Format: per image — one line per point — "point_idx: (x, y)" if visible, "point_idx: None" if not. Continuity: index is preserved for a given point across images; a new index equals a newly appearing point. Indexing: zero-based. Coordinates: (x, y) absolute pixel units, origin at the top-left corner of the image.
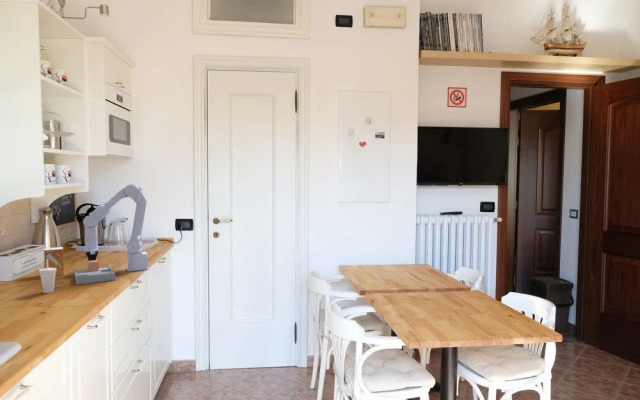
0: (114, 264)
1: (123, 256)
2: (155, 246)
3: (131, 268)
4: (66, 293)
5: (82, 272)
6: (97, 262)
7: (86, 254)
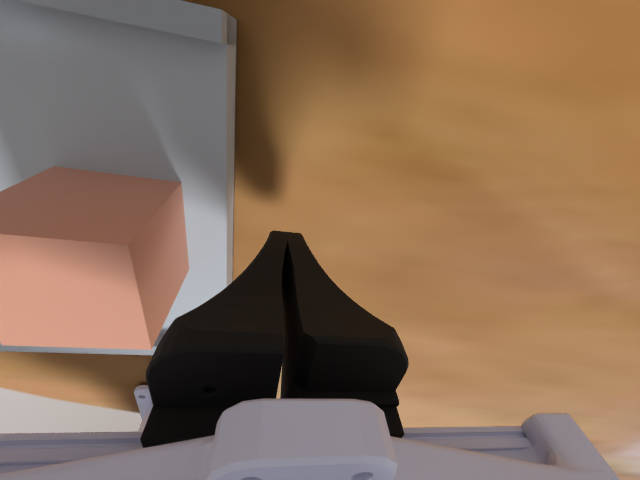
0: (427, 358)
1: (582, 403)
2: (618, 475)
3: (150, 411)
4: None
5: (24, 90)
6: (5, 327)
7: (166, 331)
